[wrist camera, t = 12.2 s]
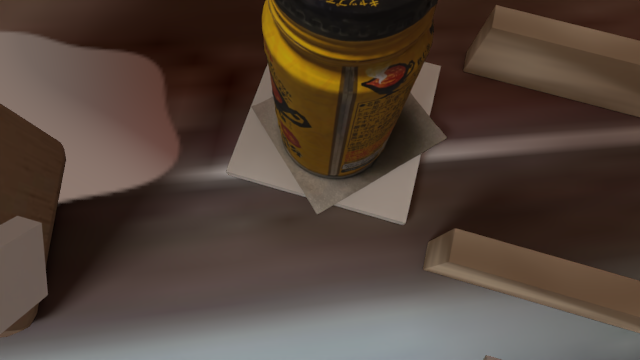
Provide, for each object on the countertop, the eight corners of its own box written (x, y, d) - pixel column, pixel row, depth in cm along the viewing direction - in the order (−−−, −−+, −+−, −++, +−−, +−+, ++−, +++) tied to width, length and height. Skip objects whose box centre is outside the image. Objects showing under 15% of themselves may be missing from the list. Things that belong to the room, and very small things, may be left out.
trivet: (283, 31, 25) (282, 24, 24) (437, 71, 24) (440, 66, 23) (228, 174, 22) (226, 171, 21) (402, 225, 21) (405, 223, 20)
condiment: (251, 108, 22) (190, -98, 11) (374, 45, 24) (434, -194, 12) (316, 215, 20) (326, 104, 9) (445, 140, 22) (593, -37, 10)
